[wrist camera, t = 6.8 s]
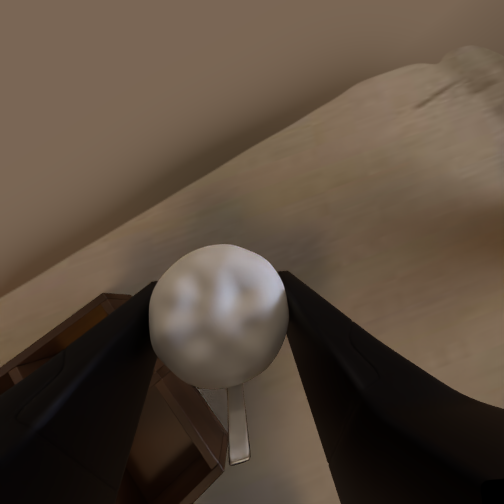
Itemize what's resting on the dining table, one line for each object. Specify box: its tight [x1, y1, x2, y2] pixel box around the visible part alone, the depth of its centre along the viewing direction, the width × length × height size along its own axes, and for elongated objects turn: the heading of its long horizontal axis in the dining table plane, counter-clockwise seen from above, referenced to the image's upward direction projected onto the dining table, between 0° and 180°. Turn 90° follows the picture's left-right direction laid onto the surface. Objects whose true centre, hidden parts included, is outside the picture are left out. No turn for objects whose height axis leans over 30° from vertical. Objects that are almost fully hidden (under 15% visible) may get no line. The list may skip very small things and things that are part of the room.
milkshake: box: [149, 244, 289, 466], centre depth 10 cm, size 4×5×10 cm
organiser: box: [0, 293, 228, 504], centre depth 15 cm, size 15×15×4 cm
